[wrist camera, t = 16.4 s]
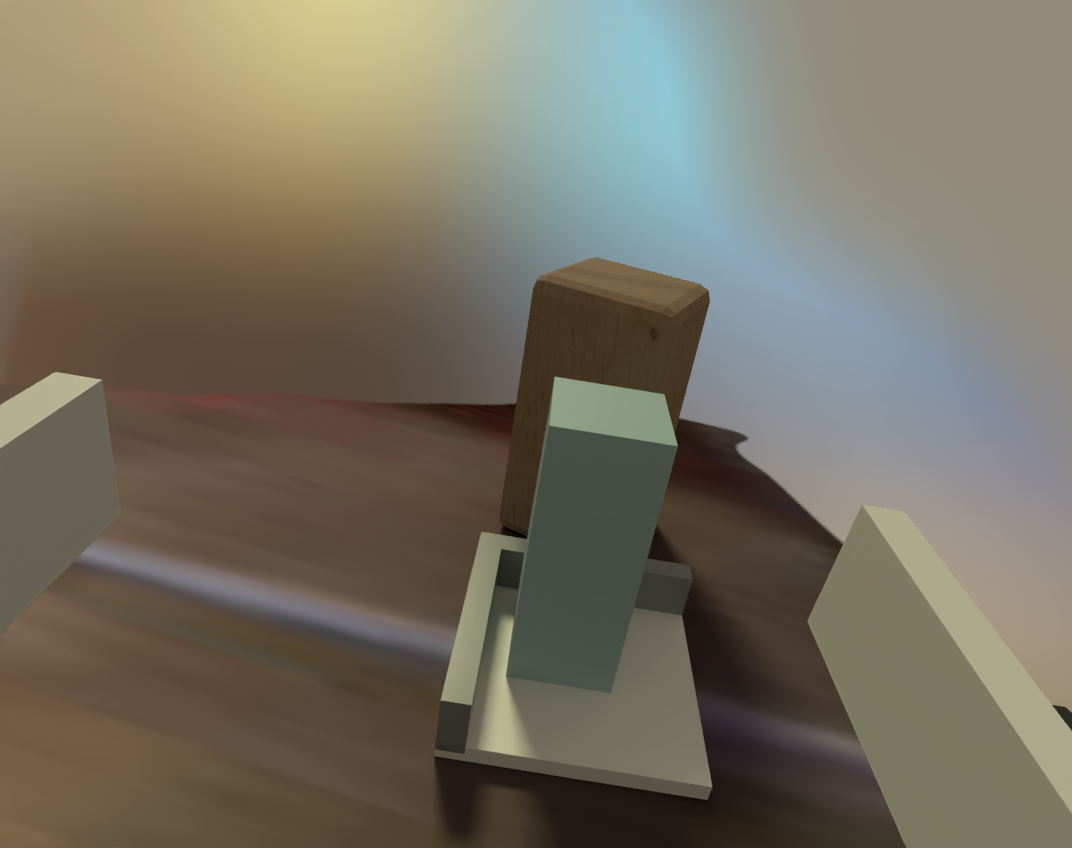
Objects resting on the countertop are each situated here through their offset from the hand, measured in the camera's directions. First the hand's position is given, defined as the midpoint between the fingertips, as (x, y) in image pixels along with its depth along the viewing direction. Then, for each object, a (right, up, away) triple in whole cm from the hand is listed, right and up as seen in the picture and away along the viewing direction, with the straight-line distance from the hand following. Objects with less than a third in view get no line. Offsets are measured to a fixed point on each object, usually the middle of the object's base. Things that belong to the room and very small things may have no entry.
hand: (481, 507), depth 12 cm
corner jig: (+3, -13, +29) cm, 32 cm away
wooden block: (+4, -7, +43) cm, 44 cm away
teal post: (+2, -12, +29) cm, 32 cm away
